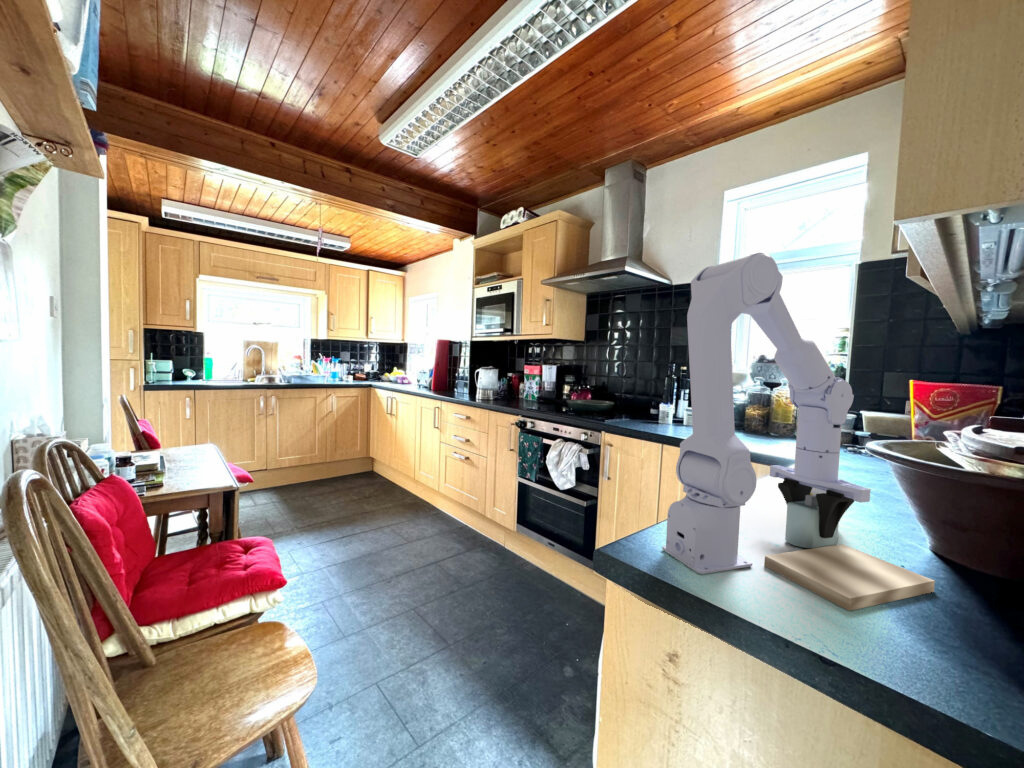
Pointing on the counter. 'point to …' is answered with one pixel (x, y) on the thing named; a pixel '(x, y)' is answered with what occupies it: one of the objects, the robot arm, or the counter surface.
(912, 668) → the counter surface
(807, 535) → the grey capsule with tab
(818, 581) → the cutting board
